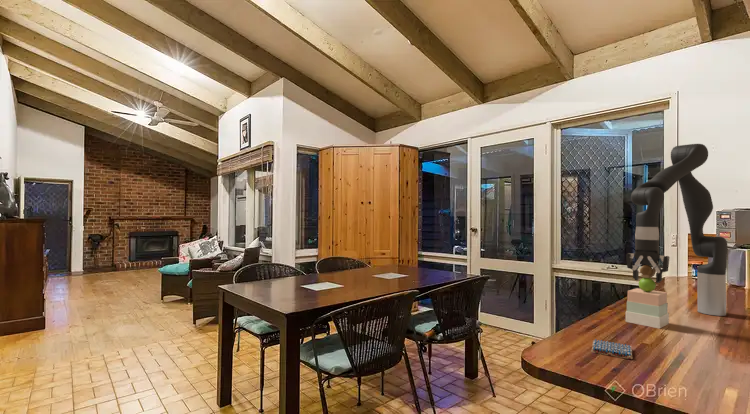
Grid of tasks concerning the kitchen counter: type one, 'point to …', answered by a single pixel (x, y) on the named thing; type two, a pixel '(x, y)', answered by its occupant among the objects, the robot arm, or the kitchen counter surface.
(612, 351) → the woven mat
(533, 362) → the kitchen counter surface
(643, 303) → the stacked pastel boxes
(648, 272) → the snail figurine
